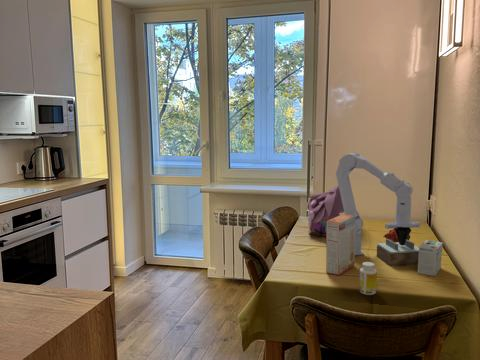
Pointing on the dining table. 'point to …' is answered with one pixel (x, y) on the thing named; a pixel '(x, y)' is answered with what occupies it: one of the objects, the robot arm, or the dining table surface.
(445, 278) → the dining table surface
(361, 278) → the supplement bottle
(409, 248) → the lid right
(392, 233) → the dragon fruit
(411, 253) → the walnut box
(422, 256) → the light bulb box
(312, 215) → the purple cloth
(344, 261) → the cracker box
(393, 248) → the lid left
